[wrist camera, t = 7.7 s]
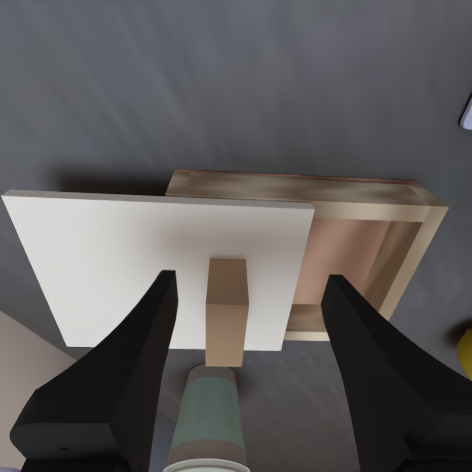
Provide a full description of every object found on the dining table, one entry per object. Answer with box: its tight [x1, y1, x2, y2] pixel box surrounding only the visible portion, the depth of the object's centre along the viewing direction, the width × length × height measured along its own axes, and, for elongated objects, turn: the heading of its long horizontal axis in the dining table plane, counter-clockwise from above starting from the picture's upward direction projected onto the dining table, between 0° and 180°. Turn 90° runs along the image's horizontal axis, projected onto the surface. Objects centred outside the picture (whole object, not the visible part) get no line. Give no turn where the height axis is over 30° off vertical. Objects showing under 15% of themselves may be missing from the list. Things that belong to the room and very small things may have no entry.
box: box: [165, 169, 449, 341], centre depth 24 cm, size 18×14×4 cm
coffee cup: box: [163, 363, 250, 472], centre depth 32 cm, size 8×8×12 cm
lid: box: [1, 190, 315, 367], centre depth 20 cm, size 18×14×5 cm
